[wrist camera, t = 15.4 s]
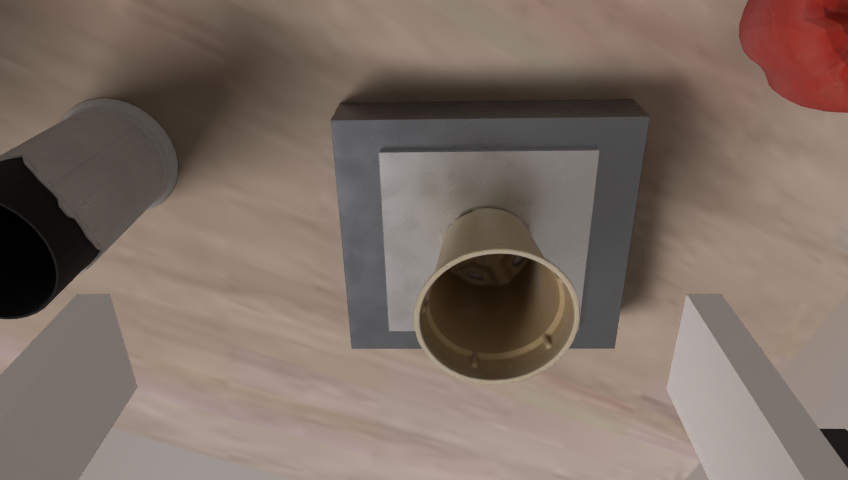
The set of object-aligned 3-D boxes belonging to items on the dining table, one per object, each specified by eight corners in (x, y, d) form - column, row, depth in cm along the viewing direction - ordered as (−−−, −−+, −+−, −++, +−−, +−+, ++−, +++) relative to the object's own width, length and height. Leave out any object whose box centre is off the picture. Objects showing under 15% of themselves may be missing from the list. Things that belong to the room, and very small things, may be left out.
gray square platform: (358, 318, 52) (350, 352, 48) (339, 103, 43) (329, 122, 39) (602, 317, 51) (616, 352, 47) (632, 99, 43) (651, 118, 39)
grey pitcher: (202, 182, 46) (105, 292, 33) (58, 256, 50) (-83, 383, 36) (125, 76, 43) (-18, 151, 29) (-25, 164, 46) (-214, 266, 33)
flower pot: (557, 300, 45) (580, 380, 37) (426, 310, 46) (423, 391, 38) (554, 178, 41) (581, 241, 33) (410, 192, 41) (403, 256, 34)
